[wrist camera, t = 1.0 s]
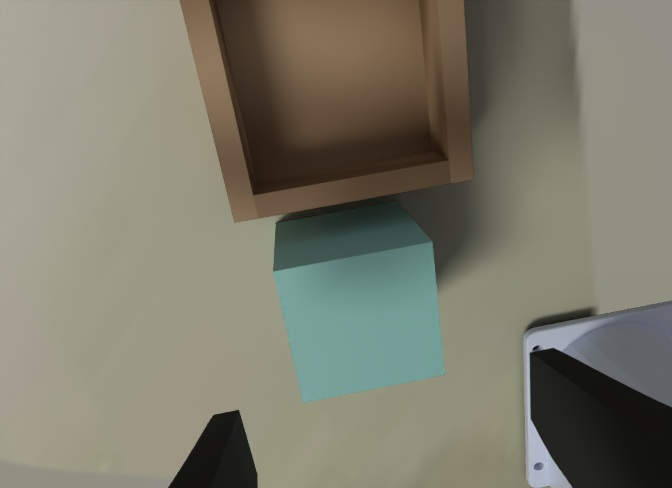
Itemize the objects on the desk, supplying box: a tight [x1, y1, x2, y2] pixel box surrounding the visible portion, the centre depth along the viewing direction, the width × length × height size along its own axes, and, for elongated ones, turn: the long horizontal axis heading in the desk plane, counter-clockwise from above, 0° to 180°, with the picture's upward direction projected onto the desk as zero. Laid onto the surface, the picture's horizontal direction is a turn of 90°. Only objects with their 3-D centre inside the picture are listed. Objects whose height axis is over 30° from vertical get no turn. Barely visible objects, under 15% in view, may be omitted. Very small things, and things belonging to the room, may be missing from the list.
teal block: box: [273, 201, 445, 403], centre depth 18 cm, size 5×5×5 cm
